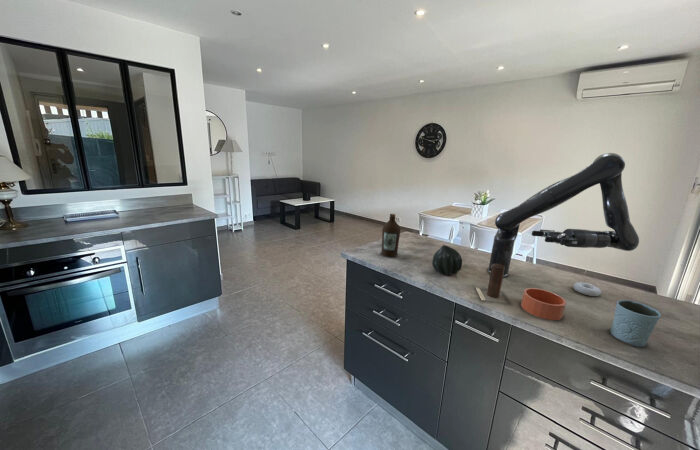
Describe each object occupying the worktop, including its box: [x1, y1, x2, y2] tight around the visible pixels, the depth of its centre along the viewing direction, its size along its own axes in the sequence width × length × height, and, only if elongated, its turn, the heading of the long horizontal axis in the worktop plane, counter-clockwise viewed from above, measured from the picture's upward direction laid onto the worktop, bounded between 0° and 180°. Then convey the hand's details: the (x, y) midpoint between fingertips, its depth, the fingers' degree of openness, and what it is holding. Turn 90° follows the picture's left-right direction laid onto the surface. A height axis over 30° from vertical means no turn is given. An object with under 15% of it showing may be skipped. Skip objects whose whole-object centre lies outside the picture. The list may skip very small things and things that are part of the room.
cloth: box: [475, 287, 487, 302], centre depth 115 cm, size 11×11×1 cm
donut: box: [572, 281, 602, 297], centre depth 123 cm, size 10×4×10 cm
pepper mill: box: [486, 264, 505, 299], centre depth 113 cm, size 5×5×14 cm
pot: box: [520, 287, 567, 321], centre depth 105 cm, size 14×14×6 cm
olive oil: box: [381, 213, 401, 258], centre depth 157 cm, size 11×11×25 cm
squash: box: [431, 244, 463, 276], centre depth 138 cm, size 14×15×15 cm
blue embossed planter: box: [610, 299, 662, 348], centre depth 89 cm, size 10×10×12 cm
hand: (538, 236), depth 109 cm, fingers open, 8 cm apart
